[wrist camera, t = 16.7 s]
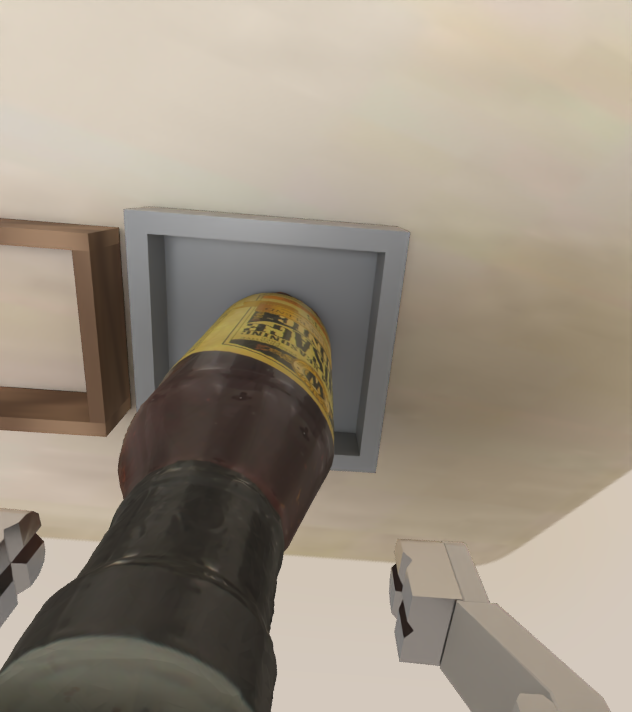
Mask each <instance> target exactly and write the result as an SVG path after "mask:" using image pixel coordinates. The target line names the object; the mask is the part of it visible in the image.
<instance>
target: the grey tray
mask: <svg viewBox="0 0 632 712" xmlns="http://www.w3.org/2000/svg"><path fill="white" fill-rule="evenodd" d="M124 224H125V240H126V255H127V270H128V286H129V301H130V317H131V332H132V348H133V363H134V379H135V394H136V410H137V412H138V410H139V408H140V406H141V405H142V404H143V403H144V402H145V401H146V400H147V399H148V398H149V397H150V395H151V394H152V393H153V392H154V391H155V390H156V389H157V388H158V387H159V385H160V383H161V382H162V380H163V379H164V377H165V376H166V374H167V373H168V372H169V371H170V370H171V369H172V367H173V366H174V365H175V364H176V363H177V362H178V361H179V360H180V359H181V358H182V357H183V356H184V355H185V354H186V353H187V352H188V351H189V350H190V349H191V348H192V347H193V345H194V344H195V343H196V342H197V341H198V340H199V339H200V338H201V337H202V336H203V335H204V334H205V333H206V332H207V331H208V329H209V328H210V327H211V326H212V325H213V324H214V323H215V322H216V321H217V320H218V319H219V317H220V316H221V315H222V314H223V313H224V312H225V311H226V310H227V309H228V308H229V307H230V306H232V305H233V304H234V303H236V302H238V301H239V300H241V299H243V298H246V297H248V296H251V295H254V294H259V293H272V292H273V293H276V292H283V293H286V294H289V295H291V296H292V297H294V298H297V299H298V300H300V301H302V302H303V303H304V304H306V305H307V306H309V307H310V308H311V309H313V311H314V312H316V313H317V315H318V316H319V318H320V320H321V322H322V323H323V325H324V327H325V329H326V331H327V334H328V337H329V340H330V345H331V361H332V390H333V421H334V458H333V463H332V467H331V469H330V470H336V471H352V472H368V473H376V467H377V460H378V453H379V446H380V439H381V432H382V425H383V418H384V411H385V404H386V397H387V390H388V383H389V377H390V370H391V363H392V356H393V349H394V342H395V335H396V328H397V321H398V314H399V307H400V300H401V293H402V286H403V279H404V272H405V265H406V258H407V251H408V245H409V238H410V232H409V231H407V230H404V229H402V228H400V227H397V226H386V225H373V224H361V223H348V222H336V221H324V220H311V219H299V218H286V217H274V216H261V215H249V214H237V213H224V212H212V211H199V210H187V209H175V208H162V207H140V208H129V209H124Z"/></svg>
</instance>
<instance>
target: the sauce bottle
mask: <svg viewBox="0 0 632 712" xmlns="http://www.w3.org/2000/svg"><path fill="white" fill-rule="evenodd" d="M333 458H334V421H333V390H332V361H331V345H330V340H329V337H328V334H327V331H326V329H325V327H324V325H323V323H322V322H321V320H320V318H319V316H318V315H317V313H316V312H314V311H313V309H311V308H310V307H309V306H307V305H306V304H304V303H303V302H302V301H300V300H298V299H297V298H294V297H292V296H291V295H289V294H286V293H283V292H276V293H273V292H272V293H259V294H254V295H251V296H248V297H246V298H243V299H241V300H239V301H238V302H236V303H234V304H233V305H232V306H230V307H229V308H228V309H227V310H226V311H225V312H224V313H223V314H222V315H221V316H220V317H219V319H218V320H217V321H216V322H215V323H214V324H213V325H212V326H211V327H210V328H209V329H208V331H207V332H206V333H205V334H204V335H203V336H202V337H201V338H200V339H199V340H198V341H197V342H196V343H195V344H194V345H193V347H192V348H191V349H190V350H189V351H188V352H187V353H186V354H185V355H184V356H183V357H182V358H181V359H180V360H179V361H178V362H177V363H176V364H175V365H174V366H173V367H172V369H171V370H170V371H169V372H168V373H167V374H166V376H165V377H164V379H163V380H162V382H161V383H160V385H159V387H158V388H157V389H156V390H155V391H154V392H153V393H152V394H151V395H150V397H149V398H148V399H147V400H146V401H145V402H144V403H143V404H142V405H141V406H140V408H139V410H138V412H137V413H136V414H135V416H134V418H133V420H132V422H131V424H130V426H129V427H128V430H127V433H126V434H125V438H124V440H123V445H122V449H121V453H120V457H119V463H118V475H119V482H120V488H121V491H122V494H123V499H124V500H123V501H122V503H121V504H120V506H119V507H118V509H117V511H116V513H115V515H114V517H113V520H112V522H111V525H110V528H109V530H108V531H107V533H106V534H105V535H104V537H103V539H102V541H101V542H100V544H99V545H98V546H97V548H96V550H95V551H94V552H93V554H92V556H91V557H90V559H89V561H88V563H87V564H86V565H85V567H84V568H83V569H82V571H81V572H80V573H79V575H78V576H77V578H76V579H74V580H73V581H71V582H70V583H69V584H67V585H66V586H65V587H63V588H61V589H60V590H59V591H57V592H56V593H55V594H54V595H53V596H51V597H50V598H49V599H48V601H46V603H45V604H44V605H43V606H42V608H41V610H40V611H39V612H38V614H37V615H36V616H35V618H34V620H33V621H32V623H31V624H30V625H29V627H28V628H27V629H26V631H25V632H24V634H23V635H22V637H21V638H20V640H19V641H18V643H17V644H16V646H15V647H14V649H13V651H12V653H11V655H10V656H9V658H8V659H7V661H6V662H5V664H4V665H3V667H2V669H1V670H0V712H271V706H272V699H273V691H274V686H275V682H276V676H277V665H276V658H275V654H274V651H273V642H272V640H271V637H270V635H269V632H270V625H271V622H272V616H273V614H274V598H275V593H276V585H277V576H278V573H279V571H280V568H281V565H282V560H283V553H284V551H285V550H286V549H287V548H288V546H289V544H290V543H291V541H292V539H293V537H294V535H295V533H296V531H297V529H298V527H299V525H300V524H301V522H302V520H303V518H304V516H305V514H306V512H307V511H308V509H309V507H310V505H311V503H312V501H313V500H314V498H315V496H316V494H317V492H318V491H319V489H320V487H321V485H322V483H323V482H324V480H325V478H326V476H327V474H328V472H329V471H330V469H331V467H332V463H333Z"/></svg>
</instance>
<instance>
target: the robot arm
mask: <svg viewBox="0 0 632 712" xmlns="http://www.w3.org/2000/svg"><path fill="white" fill-rule="evenodd" d="M40 527H41V522H40V518H39V514H38V513H36V512H34V511H27V510H17V509H7V508H0V627H1V626H2V624H3V623H4V622H5V621H6V619H7V618H8V617H9V615H10V614H11V612H12V611H13V610H14V608H15V607H16V606H17V604H18V602H17V594H19V593H21V592H22V591H24V590H26V589H27V588H29V587H30V586H31V585H32V584H33V583H34V581H35V580H36V578H37V577H38V575H39V573H40V571H41V568H42V566H43V563H44V558H45V546H44V541H43V540H42V539H41V538H40V537H39V536H38V535H37V534H36V532H37V531H38V529H39V528H40ZM394 554H395V559H396V564H395V565H394V566H393V567H392V568H391V574H390V588H389V594H390V605H391V612H392V614H393V615H394V616H395V617H396V619H397V621H396V627H395V638H396V644H397V650H398V655H399V661H400V662H409V663H417V664H428V665H437V666H440V669H441V670H442V672H443V673H444V674H445V676H446V677H447V679H448V680H449V681H450V683H451V684H452V685H453V687H454V688H455V690H456V691H457V692H458V694H459V695H460V696H461V698H462V699H463V701H464V702H465V703H466V705H467V706H468V707H469V709H470V710H471V712H611V711H610V709H609V708H608V706H607V704H606V702H605V700H604V698H603V697H602V696H601V695H600V694H599V693H597V692H596V691H595V690H594V689H593V688H592V687H590V685H588V684H587V683H586V682H585V681H584V680H583V679H582V678H580V677H579V676H578V675H577V674H576V673H575V672H574V671H573V670H571V669H570V668H569V667H568V666H567V665H566V664H565V663H564V662H562V661H561V660H560V659H559V658H558V657H557V656H556V655H554V654H553V653H552V652H551V651H550V650H549V649H548V648H547V647H545V646H544V645H543V644H542V643H541V642H540V641H539V640H537V639H536V638H535V637H534V636H533V635H532V634H531V633H530V632H529V631H527V630H526V629H525V628H524V627H523V626H522V625H521V624H520V623H518V622H517V621H516V620H515V619H514V618H513V617H512V616H511V615H509V614H508V613H507V612H506V611H505V610H504V609H503V608H502V607H500V606H499V605H498V604H497V603H490V601H489V600H488V597H487V594H486V592H485V589H484V587H483V584H482V582H481V579H480V577H479V574H478V572H477V569H476V567H475V564H474V562H473V559H472V557H471V554H470V552H469V549H468V547H467V545H466V544H465V543H464V542H449V541H441V542H440V541H428V540H413V539H397V542H396V545H395V551H394Z"/></svg>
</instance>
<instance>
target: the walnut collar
mask: <svg viewBox="0 0 632 712" xmlns="http://www.w3.org/2000/svg"><path fill="white" fill-rule="evenodd" d="M0 244H1V245H14V246H27V247H40V248H53V249H66V250H72V256H73V266H74V275H75V285H76V294H77V304H78V313H79V323H80V332H81V342H82V352H83V361H84V371H85V380H86V390H87V393H85V392H70V391H56V390H41V389H26V388H11V387H0V430H10V431H25V432H41V433H56V434H71V435H87V436H102V437H107V435H108V434H109V433H110V432H111V431H112V430H113V428H114V427H115V426H116V425H117V424H118V422H119V421H120V420H121V419H122V418H123V417H124V415H125V414H126V413H127V412H128V411H129V409H130V408H131V398H130V384H129V369H128V355H127V340H126V326H125V312H124V297H123V283H122V268H121V254H120V239H119V228H116V227H103V226H91V225H78V224H65V223H53V222H40V221H27V220H15V219H2V218H0Z"/></svg>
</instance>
